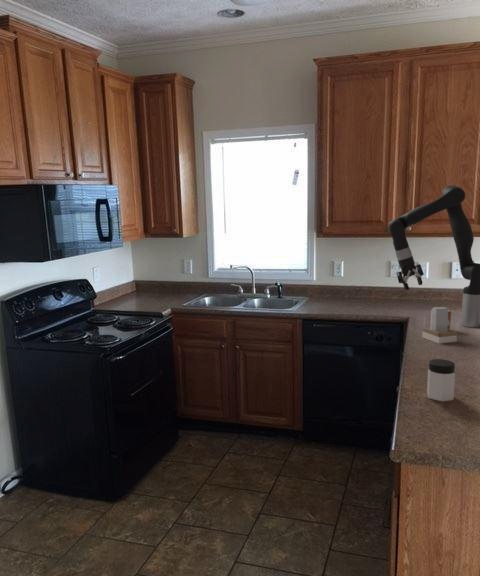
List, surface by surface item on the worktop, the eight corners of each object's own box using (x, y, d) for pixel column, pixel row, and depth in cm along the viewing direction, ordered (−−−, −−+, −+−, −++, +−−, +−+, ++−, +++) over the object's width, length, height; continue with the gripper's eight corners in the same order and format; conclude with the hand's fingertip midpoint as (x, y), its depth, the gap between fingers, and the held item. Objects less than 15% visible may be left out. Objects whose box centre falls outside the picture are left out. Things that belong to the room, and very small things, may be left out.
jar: (458, 396, 172) (460, 362, 170) (448, 403, 166) (450, 368, 164) (431, 390, 178) (433, 357, 176) (421, 396, 172) (423, 362, 170)
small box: (436, 332, 256) (437, 311, 254) (429, 329, 262) (430, 309, 260) (450, 331, 258) (451, 310, 257) (443, 328, 264) (444, 308, 262)
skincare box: (442, 331, 245) (444, 306, 243) (447, 333, 241) (449, 308, 239) (430, 331, 245) (431, 306, 243) (435, 334, 240) (436, 308, 238)
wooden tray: (439, 335, 250) (439, 325, 249) (456, 341, 239) (457, 331, 238) (422, 337, 247) (422, 327, 246) (439, 343, 236) (439, 333, 235)
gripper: (398, 260, 255) (407, 291, 256) (420, 252, 260) (429, 282, 261) (389, 262, 262) (398, 292, 263) (411, 254, 267) (420, 283, 268)
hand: (414, 287), depth 262 cm, fingers open, 8 cm apart
